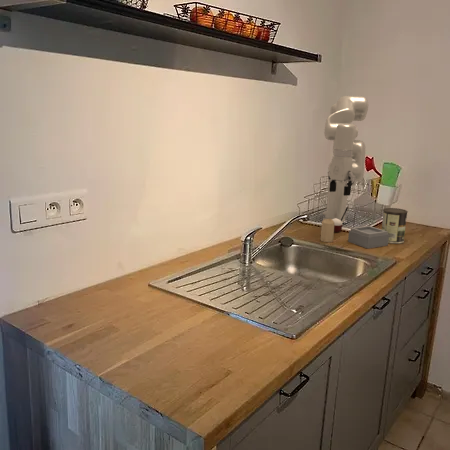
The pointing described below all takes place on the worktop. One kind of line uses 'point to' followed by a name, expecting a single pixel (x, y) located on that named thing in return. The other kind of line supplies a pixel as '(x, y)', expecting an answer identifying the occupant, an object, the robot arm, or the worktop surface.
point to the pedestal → (368, 237)
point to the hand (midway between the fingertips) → (339, 193)
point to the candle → (327, 230)
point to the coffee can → (394, 224)
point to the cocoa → (338, 223)
